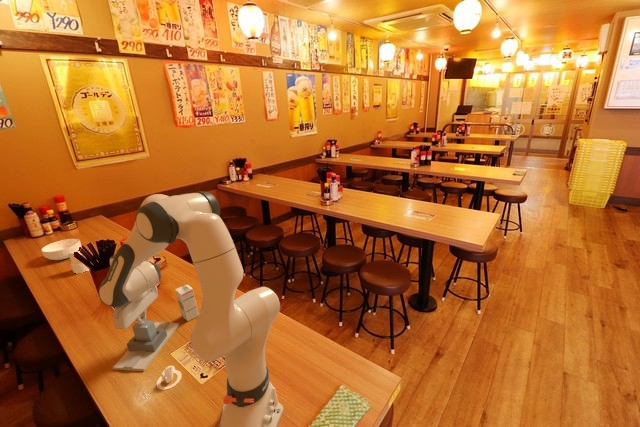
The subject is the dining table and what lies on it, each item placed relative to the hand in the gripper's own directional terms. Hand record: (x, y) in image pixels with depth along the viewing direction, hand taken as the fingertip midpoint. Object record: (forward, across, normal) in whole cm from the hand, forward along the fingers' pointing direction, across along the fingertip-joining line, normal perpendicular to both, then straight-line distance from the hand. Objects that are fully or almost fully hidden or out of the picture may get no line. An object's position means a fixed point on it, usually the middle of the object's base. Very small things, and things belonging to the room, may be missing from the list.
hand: (142, 322), depth 116 cm
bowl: (+11, +73, +107) cm, 130 cm away
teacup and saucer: (+12, -12, -19) cm, 26 cm away
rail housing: (+12, 0, 0) cm, 12 cm away
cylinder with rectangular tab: (+11, +56, +79) cm, 98 cm away
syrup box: (+12, +18, -8) cm, 23 cm away
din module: (+10, 0, 0) cm, 10 cm away
